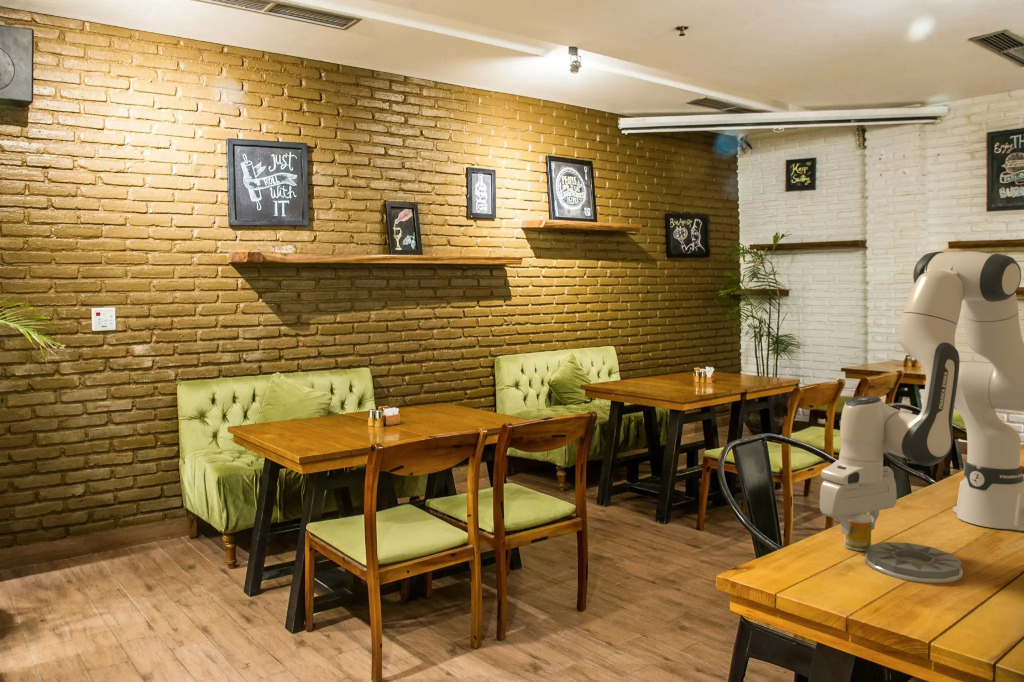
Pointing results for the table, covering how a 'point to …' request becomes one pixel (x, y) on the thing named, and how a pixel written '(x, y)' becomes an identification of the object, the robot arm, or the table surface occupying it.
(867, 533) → the supplement bottle
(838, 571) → the table surface
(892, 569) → the grey faceted round plate
